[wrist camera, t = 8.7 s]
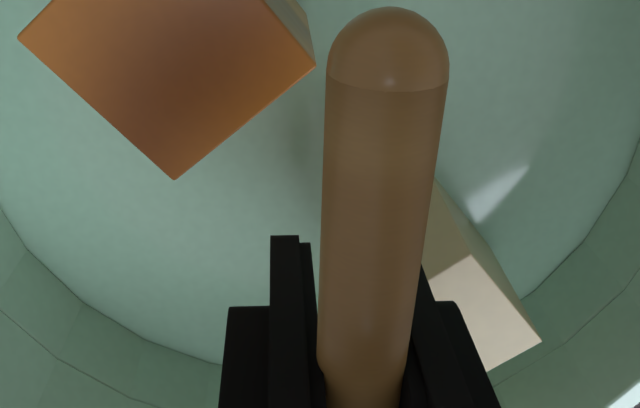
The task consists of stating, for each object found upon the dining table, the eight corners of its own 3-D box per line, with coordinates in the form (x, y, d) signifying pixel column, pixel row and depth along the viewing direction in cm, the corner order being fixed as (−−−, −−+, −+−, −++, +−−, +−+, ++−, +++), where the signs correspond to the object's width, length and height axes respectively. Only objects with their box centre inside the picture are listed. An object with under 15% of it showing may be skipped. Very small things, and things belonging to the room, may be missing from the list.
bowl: (-217, -381, 11) (-655, -601, 6) (809, -319, 12) (1181, -448, 7) (39, 378, 22) (-32, 533, 17) (563, 362, 24) (642, 499, 18)
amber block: (85, -9, 14) (13, 38, 10) (199, -123, 13) (166, -118, 9) (198, 106, 16) (174, 182, 12) (307, 14, 15) (318, 66, 11)
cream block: (327, 237, 18) (340, 334, 15) (428, 167, 17) (470, 253, 14) (394, 305, 20) (422, 407, 16) (489, 246, 19) (543, 341, 15)
